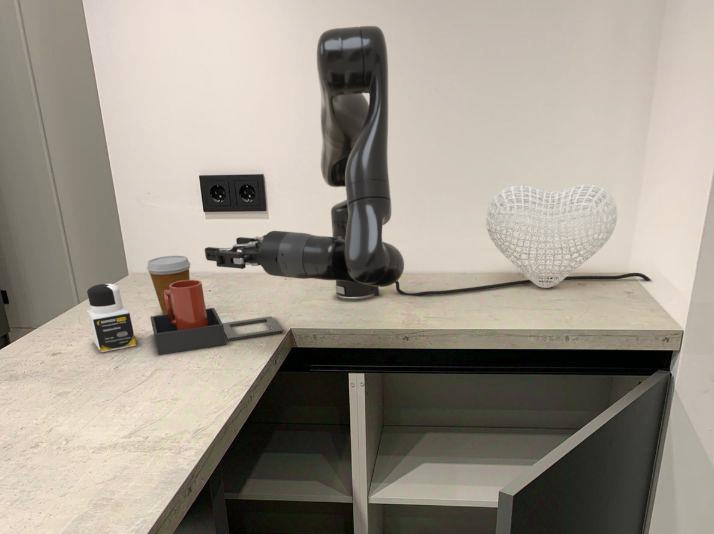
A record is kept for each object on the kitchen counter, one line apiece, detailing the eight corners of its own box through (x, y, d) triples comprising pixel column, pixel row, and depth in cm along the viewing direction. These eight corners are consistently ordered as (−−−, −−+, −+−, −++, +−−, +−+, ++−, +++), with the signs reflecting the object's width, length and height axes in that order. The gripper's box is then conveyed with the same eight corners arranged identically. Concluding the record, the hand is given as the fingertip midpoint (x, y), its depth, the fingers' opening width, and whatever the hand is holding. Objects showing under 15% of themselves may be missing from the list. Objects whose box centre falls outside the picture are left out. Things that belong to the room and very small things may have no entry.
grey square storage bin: (217, 326, 157) (214, 307, 155) (226, 344, 145) (223, 324, 143) (154, 335, 153) (150, 316, 151) (158, 354, 142) (154, 334, 140)
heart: (610, 280, 171) (621, 178, 160) (608, 299, 158) (620, 189, 148) (490, 277, 179) (493, 180, 169) (478, 294, 167) (481, 191, 156)
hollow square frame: (271, 318, 159) (271, 316, 159) (282, 333, 150) (282, 330, 150) (221, 326, 157) (220, 323, 156) (229, 341, 147) (228, 338, 147)
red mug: (216, 335, 149) (208, 281, 144) (195, 345, 145) (185, 289, 139) (183, 330, 154) (173, 277, 148) (161, 339, 149) (151, 284, 144)
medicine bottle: (100, 353, 145) (86, 292, 139) (94, 343, 151) (80, 285, 145) (136, 346, 148) (124, 286, 142) (129, 336, 154) (116, 279, 148)
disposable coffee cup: (188, 320, 162) (178, 264, 156) (148, 319, 164) (137, 265, 158) (204, 307, 170) (196, 254, 164) (166, 307, 172) (157, 255, 166)
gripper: (315, 224, 129) (244, 219, 137) (264, 241, 119) (191, 235, 127) (318, 267, 133) (250, 260, 141) (270, 287, 123) (198, 278, 131)
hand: (222, 248), depth 134 cm, fingers open, 8 cm apart
